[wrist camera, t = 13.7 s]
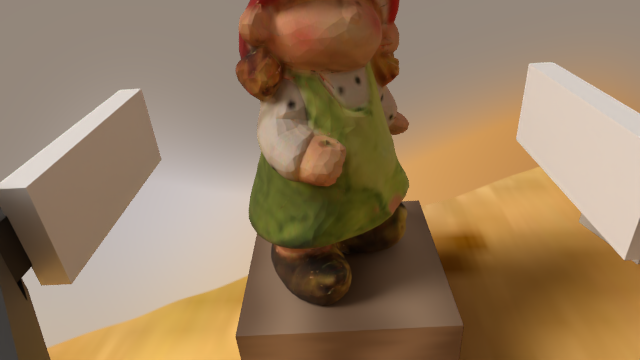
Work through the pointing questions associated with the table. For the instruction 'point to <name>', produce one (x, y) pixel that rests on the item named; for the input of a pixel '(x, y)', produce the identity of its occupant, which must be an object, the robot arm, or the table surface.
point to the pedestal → (357, 307)
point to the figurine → (324, 136)
